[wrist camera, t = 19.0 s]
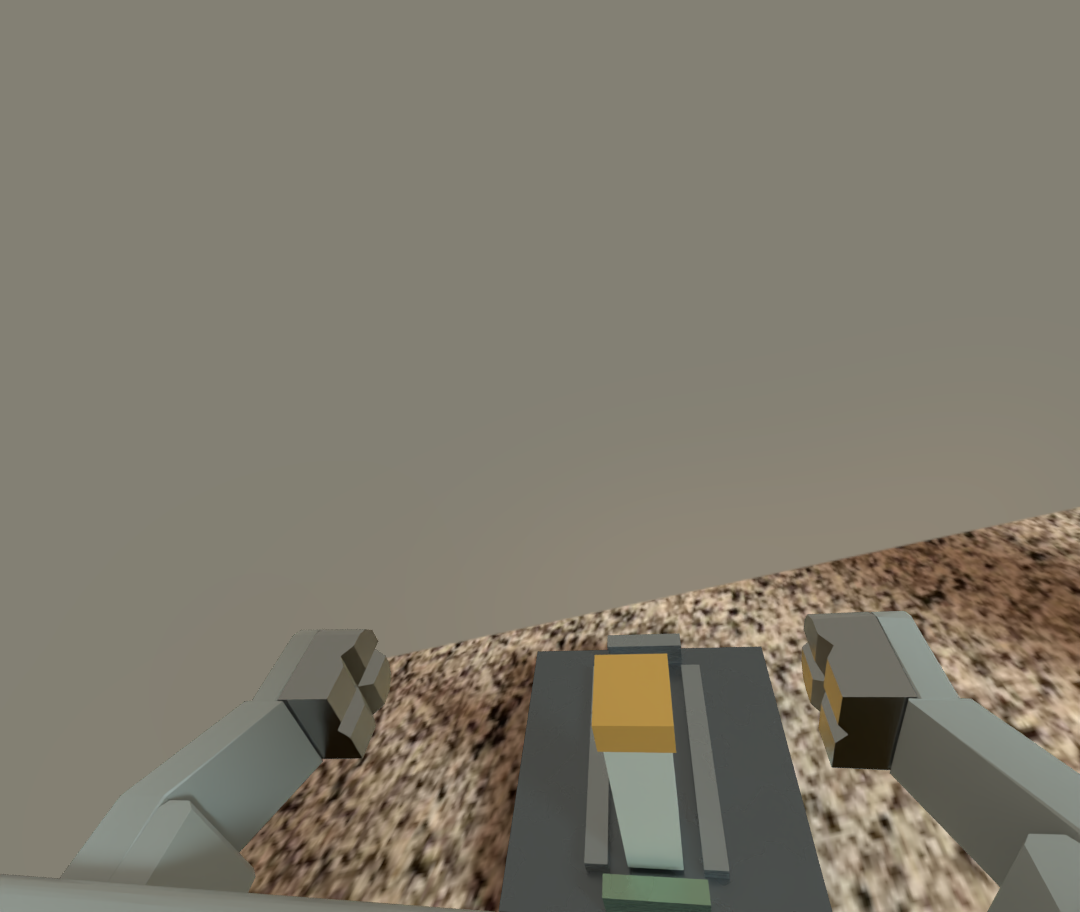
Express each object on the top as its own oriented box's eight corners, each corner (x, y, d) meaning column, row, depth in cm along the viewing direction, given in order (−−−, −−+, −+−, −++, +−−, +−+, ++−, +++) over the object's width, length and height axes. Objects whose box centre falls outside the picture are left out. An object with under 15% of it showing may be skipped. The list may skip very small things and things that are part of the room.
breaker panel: (760, 674, 40) (761, 629, 37) (832, 961, 26) (842, 919, 24) (544, 677, 43) (533, 635, 40) (510, 934, 29) (490, 895, 27)
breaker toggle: (681, 803, 30) (667, 653, 24) (688, 875, 27) (673, 726, 21) (623, 801, 31) (594, 655, 25) (624, 871, 28) (591, 725, 22)
